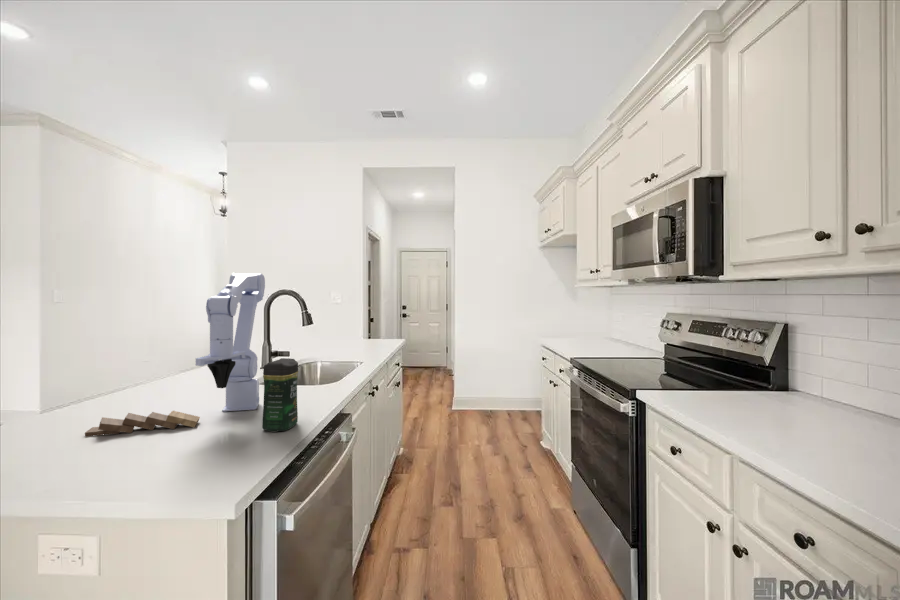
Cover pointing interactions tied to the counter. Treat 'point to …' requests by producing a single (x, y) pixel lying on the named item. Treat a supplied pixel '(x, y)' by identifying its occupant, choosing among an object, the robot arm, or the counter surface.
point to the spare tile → (183, 418)
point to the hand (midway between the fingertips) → (221, 387)
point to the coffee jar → (280, 395)
